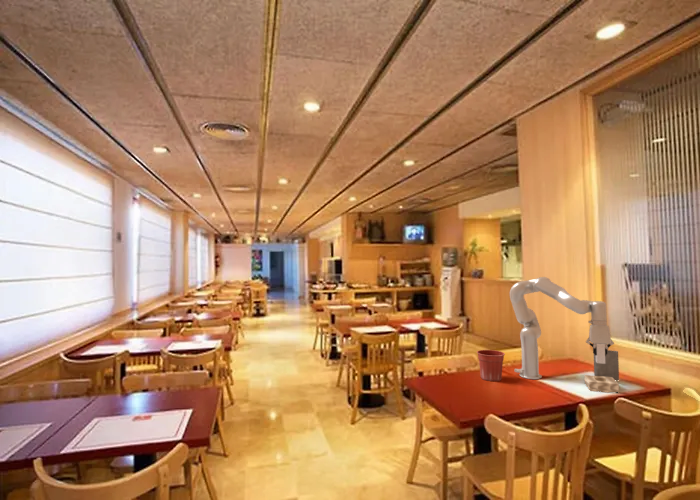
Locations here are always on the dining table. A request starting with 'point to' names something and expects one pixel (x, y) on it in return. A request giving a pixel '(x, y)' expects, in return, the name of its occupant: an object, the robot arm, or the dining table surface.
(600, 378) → the birch block
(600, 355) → the light grey tall block
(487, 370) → the flower pot
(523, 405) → the dining table surface
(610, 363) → the hip flask
